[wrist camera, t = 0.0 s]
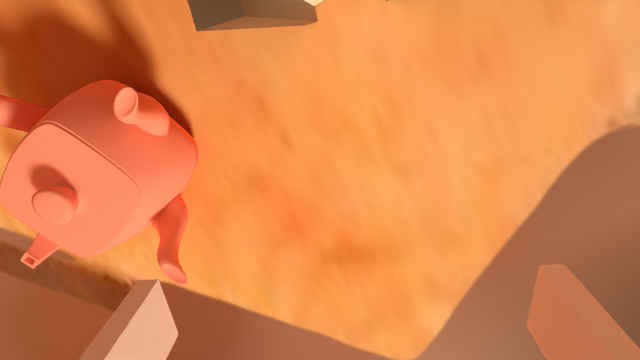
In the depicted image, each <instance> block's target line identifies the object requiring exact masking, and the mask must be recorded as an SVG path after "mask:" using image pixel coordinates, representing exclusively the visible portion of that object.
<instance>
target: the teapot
mask: <svg viewBox="0 0 640 360" xmlns="http://www.w3.org/2000/svg"><path fill="white" fill-rule="evenodd" d="M0 126H4V127H8V128H13V129H17V130H21V131H25V132H28V134H27V135H26V136H25V137H24V139H23V140H22V141H21V142H20V144H19V145H18V147H17V148H16V149H15V151H14V152H13V154H12V156H11V157H10V159H9V161H8V164H7V166H6V168H5V171H4V173H3V176H2V179H1V183H0V204H1V205H2V207H3V208H4V209H5V210H7V211H8V212H9V213H10V214H12V215H13V216H14V217H16V218H17V219H19V220H20V221H21V222H23V223H24V224H26V225H27V226H29V227H30V228H32V229H33V230H35V231H37V232H38V235H37V237H36V238H35V240H34V241H33V243H32V245H31V246H30V248H29V249H28V251H26V252H25V254H24V255H23V257H22V258H21V260H20V261H21V262H23V263H25V264H26V265H28V266H29V267H31V268H34V267H36V266H37V265H38V264H39V263H41V262H42V261H43V260H44V259H46V258H47V257H48V256H50V255H51V254H52V253H53V252H55V251H56V250H57V249H58V248H60V247H63V248H64V249H66V250H68V251H70V252H72V253H74V254H76V255H78V256H80V257H86V258H88V257H93V256H95V255H98V254H100V253H103V252H105V251H107V250H109V249H111V248H113V247H115V246H117V245H119V244H121V243H123V242H125V241H126V240H128V239H130V238H131V237H133V236H135V235H136V234H138V233H139V232H141V231H142V230H143V229H145V228H146V227H148V226H149V225H150V224H152V225H153V226H154V227H155V228H156V230H157V231H158V233H159V235H160V244H159V248H158V253H157V258H158V262H159V265H160V267H161V269H162V271H163V272H164V273H165V274H166V275H167V276H168V277H169V278H170V279H172V280H173V281H174V282H176V283H178V284H181V285H186V284H187V283H188V280H187V277H186V275H185V273H184V272H183V270H182V268H181V266H180V264H179V260H178V249H179V245H180V242H181V239H182V237H183V234H184V232H185V229H186V226H187V220H188V213H187V208H186V205H185V203H184V201H183V199H182V197H181V196H180V195H181V194H182V192H183V191H184V189H185V188H186V186H187V184H188V182H189V180H190V178H191V176H192V174H193V172H194V170H195V167H196V164H197V160H198V149H197V145H196V142H195V141H194V139H193V138H192V136H191V135H190V134H189V133H188V132H187V131H186V130H185V129H184V128H182V127H181V126H180V125H179V124H178V123H177V122H176V121H175V120H173V119H172V118H171V117H170V116H169V115H168V113H167V111H166V110H165V108H164V107H163V106H162V105H161V104H160V103H159V102H158V101H157V100H155V99H154V98H152V97H151V96H149V95H146V94H144V93H138V92H137V91H135V90H134V89H133V88H131V87H129V86H127V85H124V84H122V83H120V82H117V81H114V80H99V81H96V82H93V83H91V84H88V85H86V86H84V87H82V88H80V89H78V90H76V91H75V92H73V93H71V94H70V95H68V96H67V97H66V98H64V99H63V100H62V101H60V102H59V103H58V104H57V105H55V106H54V107H53V108H52V109H50V108H46V107H43V106H39V105H36V104H32V103H28V102H25V101H21V100H18V99H14V98H10V97H7V96H3V95H0Z"/></svg>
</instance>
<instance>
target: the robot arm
mask: <svg viewBox="0 0 640 360" xmlns="http://www.w3.org/2000/svg"><path fill="white" fill-rule="evenodd" d="M527 328H528V329H529V331H530V333H531V334H532V336H533V338H534V340H535V341H536V343H537V345H538V346H539V348H540V350H541V351H542V353H543V355H544V356H545V358H546V360H640V349H639V348H638V347H637V346H636V344H635V343H634V342H633V341H632V340H631V339H630V338H629V337H628V336H627V335H626V333H625V332H624V331H623V330H622V329H621V328H620V326H619V325H618V324H617V323H616V322H615V321H614V320H613V319H612V318H611V316H610V315H609V314H608V313H607V312H606V311H605V310H604V309H603V307H602V306H601V305H600V304H599V303H598V302H597V301H596V299H595V298H594V297H593V296H592V295H591V294H590V293H589V292H588V290H587V289H586V288H585V287H584V286H583V285H582V284H581V283H580V282H579V280H578V279H577V278H576V277H575V276H574V275H573V274H572V272H571V271H570V270H569V269H568V268H567V267H566V266H565V265H564V264H557V265H540V266H539V270H538V275H537V280H536V284H535V289H534V293H533V298H532V302H531V307H530V312H529V316H528V320H527ZM177 336H178V331H177V328H176V326H175V323H174V320H173V318H172V315H171V312H170V310H169V307H168V304H167V301H166V299H165V296H164V293H163V291H162V288H161V285H160V282H159V280H138V281H137V283H136V284H135V285H134V287H133V288H132V289H131V291H130V292H129V293H128V295H127V296H126V297H125V299H124V300H123V301H122V303H121V304H120V305H119V307H118V308H117V309H116V311H115V312H114V313H113V315H112V316H111V318H110V319H109V320H108V321H107V323H106V324H105V325H104V327H103V328H102V329H101V331H100V332H99V333H98V335H97V336H96V337H95V339H94V340H93V341H92V343H91V344H90V345H89V347H88V348H87V349H86V351H85V352H84V353H83V355H82V356H81V357H80V359H79V360H166V358H167V356H168V354H169V352H170V350H171V348H172V346H173V344H174V342H175V340H176V338H177Z"/></svg>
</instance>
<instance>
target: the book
mask: <svg viewBox="0 0 640 360" xmlns="http://www.w3.org/2000/svg"><path fill="white" fill-rule="evenodd" d="M322 1H323V0H188V3H189V7H190V10H191V13H192V17H193V20H194V24H195V27H196V30H197V31H212V30H230V29H248V28H265V27H283V26H301V25H307V24H311V23H314V22H317V21H318V20H317V16H316V11H315V7H314V6H315V5H317V4H318V3H320V2H322ZM386 1H387V0H386Z"/></svg>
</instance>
